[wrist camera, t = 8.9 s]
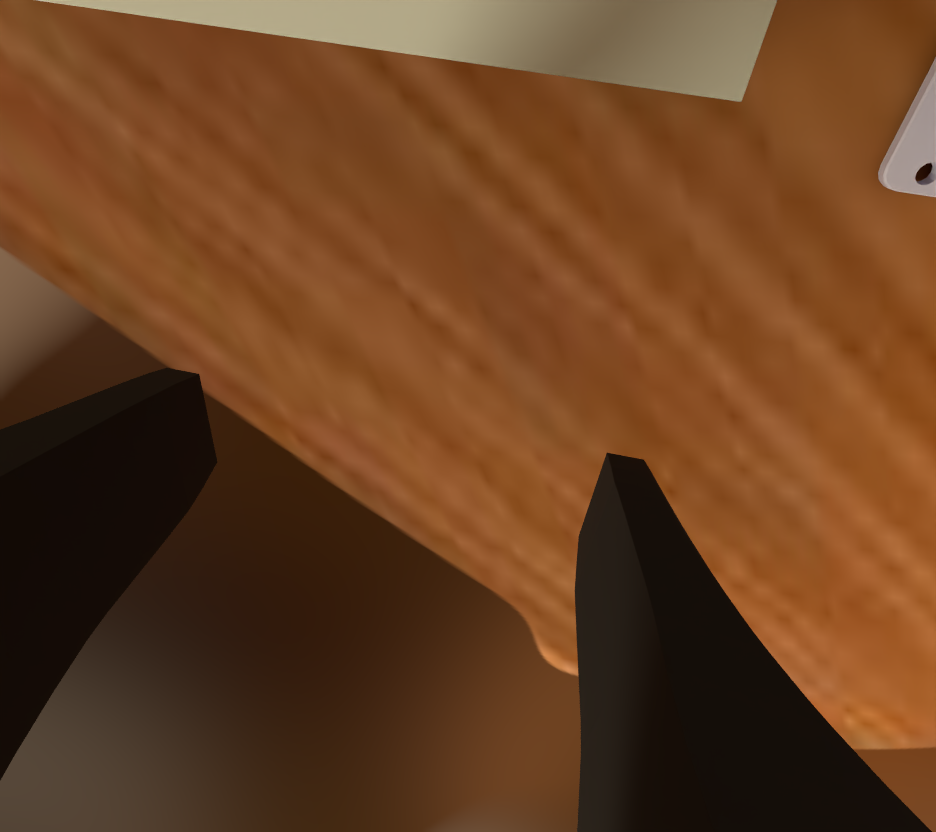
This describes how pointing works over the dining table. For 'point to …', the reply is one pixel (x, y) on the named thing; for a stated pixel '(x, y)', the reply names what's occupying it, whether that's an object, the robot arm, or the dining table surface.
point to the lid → (517, 33)
